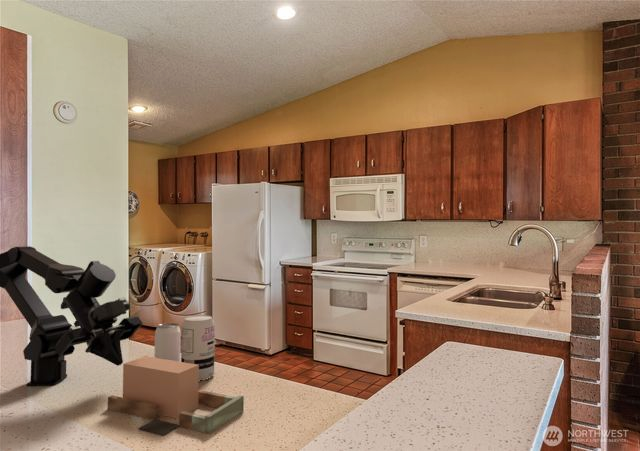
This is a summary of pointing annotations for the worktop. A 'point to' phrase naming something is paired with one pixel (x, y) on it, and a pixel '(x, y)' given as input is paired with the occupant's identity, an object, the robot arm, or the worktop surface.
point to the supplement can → (199, 343)
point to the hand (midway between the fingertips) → (120, 364)
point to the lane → (206, 424)
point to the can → (167, 342)
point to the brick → (162, 384)
